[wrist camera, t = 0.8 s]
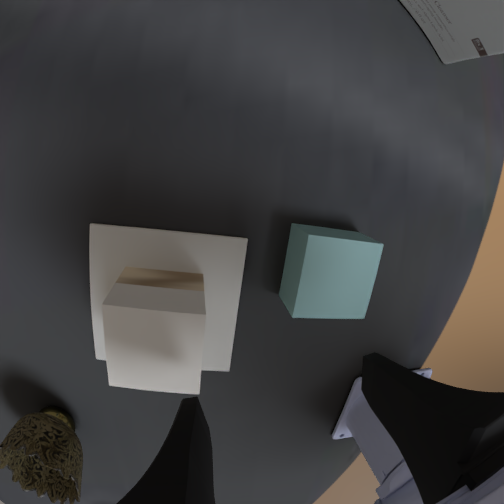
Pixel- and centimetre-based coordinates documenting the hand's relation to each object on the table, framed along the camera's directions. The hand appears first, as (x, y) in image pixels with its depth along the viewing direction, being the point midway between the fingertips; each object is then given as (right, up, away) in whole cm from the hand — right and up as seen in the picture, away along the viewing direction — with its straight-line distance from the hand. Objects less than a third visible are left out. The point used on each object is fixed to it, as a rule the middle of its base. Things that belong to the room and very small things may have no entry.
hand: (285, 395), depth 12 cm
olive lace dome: (-19, -9, +10) cm, 23 cm away
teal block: (+3, +5, +9) cm, 11 cm away
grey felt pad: (-7, +3, +8) cm, 11 cm away
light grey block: (-7, +2, +5) cm, 9 cm away
